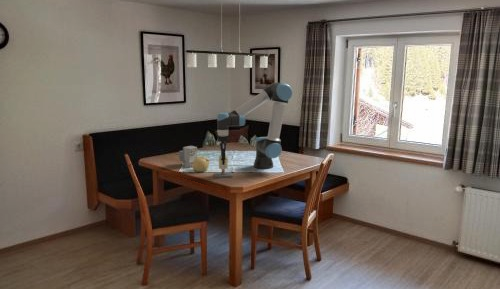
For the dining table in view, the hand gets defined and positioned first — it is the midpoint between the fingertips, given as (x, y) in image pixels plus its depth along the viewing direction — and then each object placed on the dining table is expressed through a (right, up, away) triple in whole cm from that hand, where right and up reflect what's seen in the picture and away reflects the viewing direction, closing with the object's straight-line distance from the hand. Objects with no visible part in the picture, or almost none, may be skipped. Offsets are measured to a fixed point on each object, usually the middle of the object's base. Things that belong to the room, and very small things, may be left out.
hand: (223, 167), depth 270 cm
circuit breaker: (-29, 0, +27) cm, 40 cm away
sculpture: (-18, -3, +13) cm, 22 cm away
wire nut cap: (0, 0, 0) cm, 0 cm away
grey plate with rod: (0, -6, +1) cm, 6 cm away
